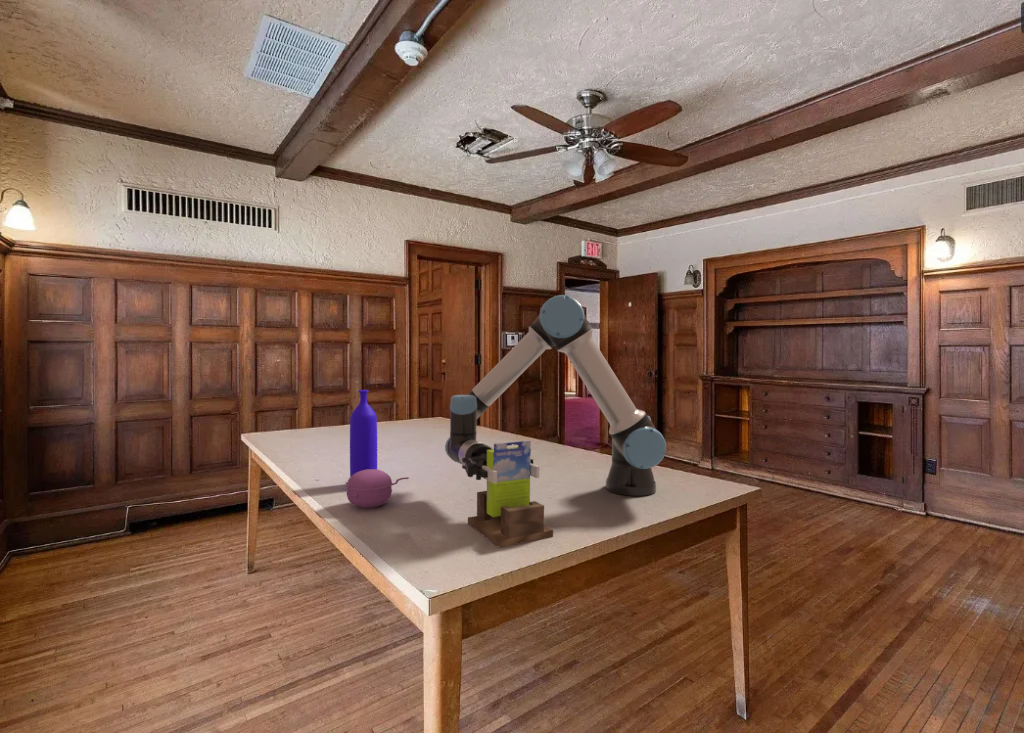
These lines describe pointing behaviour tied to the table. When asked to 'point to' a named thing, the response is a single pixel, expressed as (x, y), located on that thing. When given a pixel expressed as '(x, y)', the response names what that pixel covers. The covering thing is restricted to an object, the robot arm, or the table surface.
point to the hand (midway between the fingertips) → (517, 475)
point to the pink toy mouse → (369, 488)
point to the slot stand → (510, 523)
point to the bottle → (363, 436)
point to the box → (509, 476)
